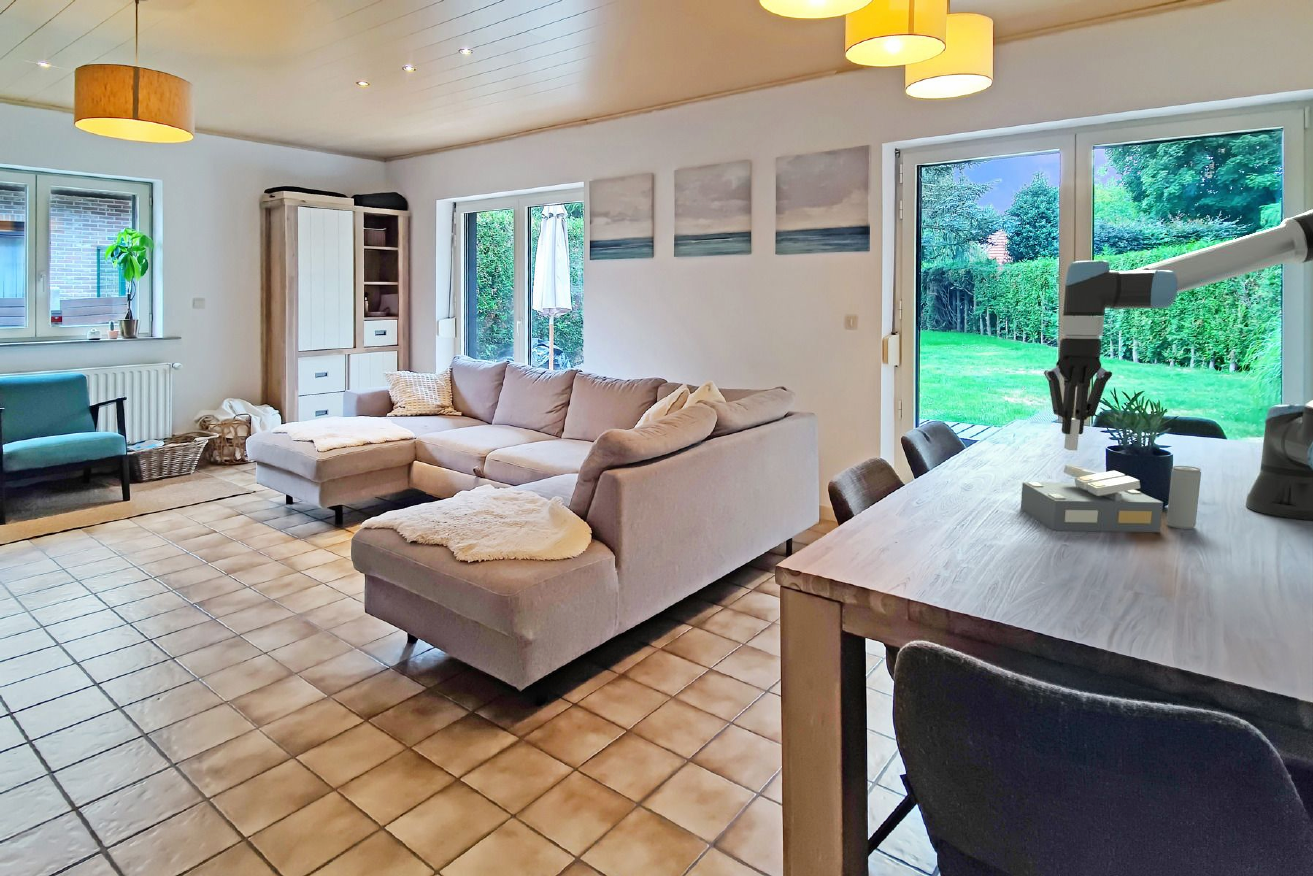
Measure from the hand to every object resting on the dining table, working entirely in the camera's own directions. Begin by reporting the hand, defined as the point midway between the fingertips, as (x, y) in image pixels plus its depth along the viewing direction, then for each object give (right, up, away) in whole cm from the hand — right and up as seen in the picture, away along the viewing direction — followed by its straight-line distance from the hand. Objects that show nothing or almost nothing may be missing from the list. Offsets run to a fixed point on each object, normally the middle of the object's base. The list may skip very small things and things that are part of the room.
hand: (1070, 449), depth 160 cm
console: (+1, -15, -3) cm, 15 cm away
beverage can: (+17, -16, -9) cm, 25 cm away
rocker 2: (+3, -6, -5) cm, 9 cm away
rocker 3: (+3, -7, -10) cm, 13 cm away
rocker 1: (+4, -5, 0) cm, 7 cm away
